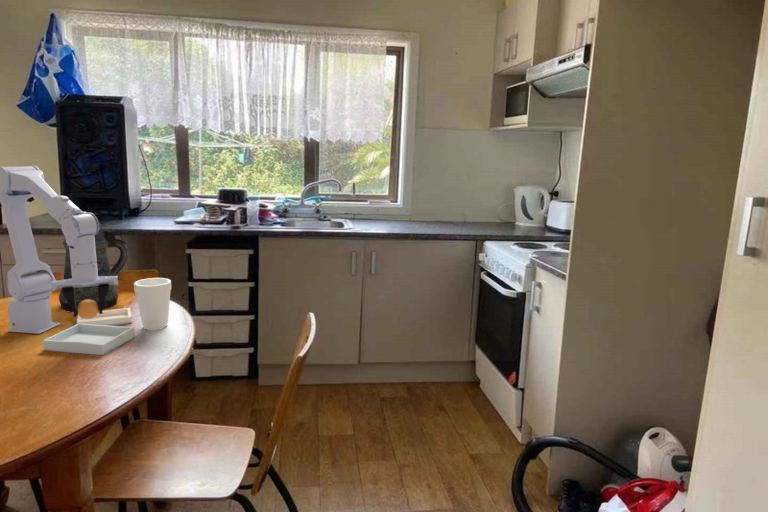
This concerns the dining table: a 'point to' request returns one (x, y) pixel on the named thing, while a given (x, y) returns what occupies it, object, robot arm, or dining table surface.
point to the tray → (89, 339)
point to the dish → (109, 318)
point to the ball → (88, 309)
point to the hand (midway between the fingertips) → (88, 314)
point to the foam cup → (153, 301)
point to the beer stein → (101, 243)
